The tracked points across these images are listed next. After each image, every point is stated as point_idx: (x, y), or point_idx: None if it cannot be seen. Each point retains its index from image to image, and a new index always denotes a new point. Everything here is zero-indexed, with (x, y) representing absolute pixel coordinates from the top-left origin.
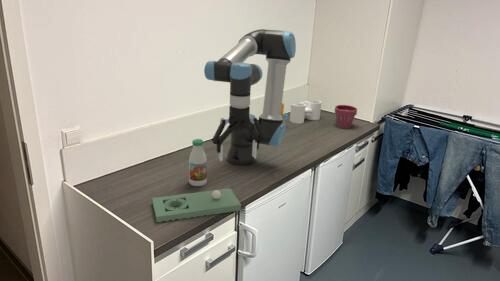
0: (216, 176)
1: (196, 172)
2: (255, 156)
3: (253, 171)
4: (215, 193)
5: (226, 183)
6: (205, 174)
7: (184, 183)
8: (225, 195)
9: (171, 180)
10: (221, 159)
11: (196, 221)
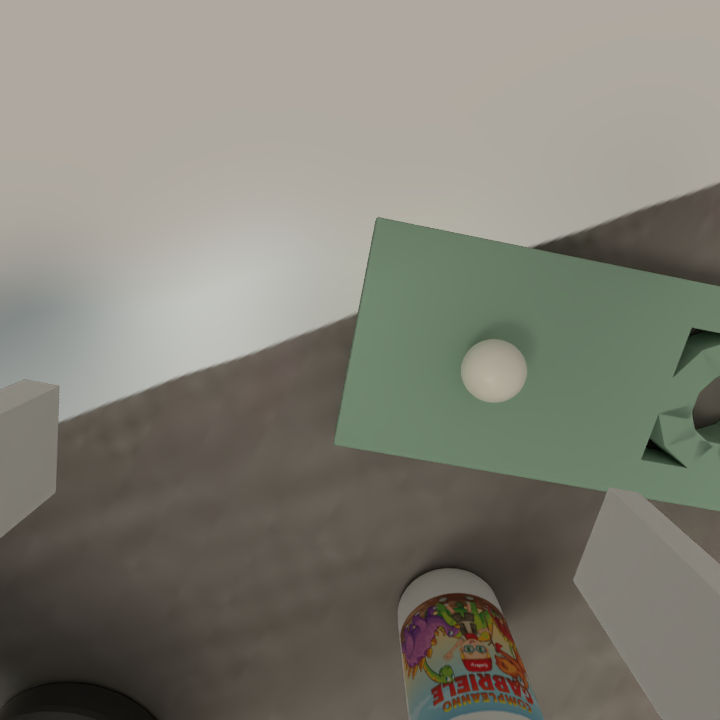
0: (315, 630)
1: (505, 651)
2: (14, 392)
3: (76, 603)
4: (517, 360)
5: (300, 540)
6: (430, 627)
7: (514, 626)
8: (410, 374)
9: (559, 677)
10: (647, 510)
11: (672, 228)
